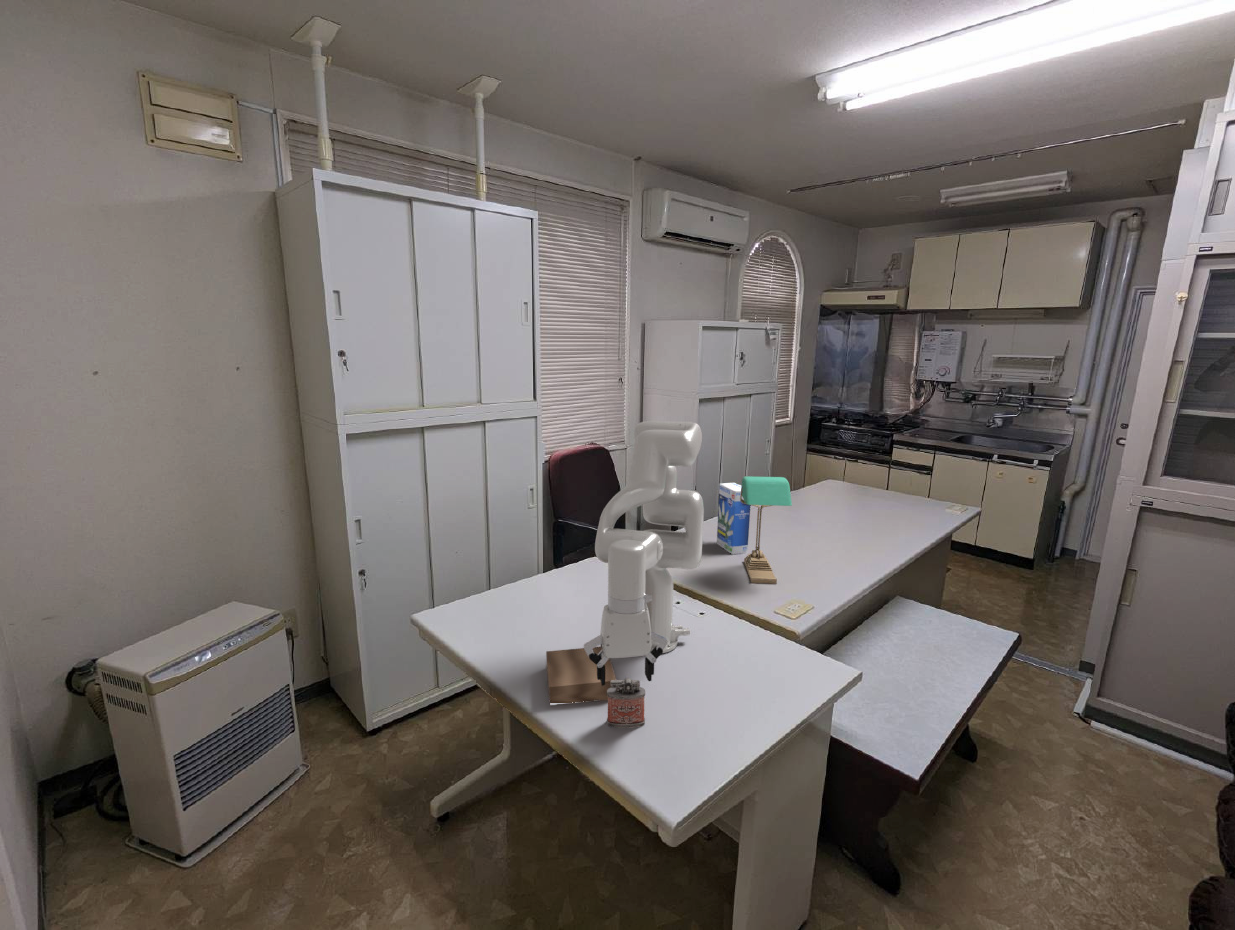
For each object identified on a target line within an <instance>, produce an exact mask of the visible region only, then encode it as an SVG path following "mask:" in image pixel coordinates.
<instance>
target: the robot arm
mask: <svg viewBox="0 0 1235 930" xmlns="http://www.w3.org/2000/svg"><path fill="white" fill-rule="evenodd" d="M633 437H634V438H633V439H634V443H633V449H632V454H631V455H632V456H631V459H630V466H629V471H628V476H627V482H626V485H625V486H624V487H623V488H622V489H621V490H619V491H618V492H617V493H615V495H614V496H612V498H611V499H610V500H609V501H608V502H607V504H606V505H605V507H603V510H602V512H601V515H600V517H599V522H598V526H597V531H596V536H595V542H594V552H595V555H596V558H597V560H599V561H600V562H602V563H605V564H607V604H606V605H604V606H603V609H602V610H603V611H602V616H601V622H600V634H599V635H597V636H596V637H594V638H592V639H590V640H588V641H587V642H585V643H584V644H583V648H584V650H585V651H586V653H587V655H588V656H589V659H590V660H591V661H593V662H594V663H595V664H596V665H597V679H598V680H600V681H601V685H602V686H604V685H605V665H604V664H605V663H606V662H607V660H608V659H609V658H610V659H621V658H623V659H624V658H631V657H632V658H634V657H644V656H645V657H644V674H645V677H646V680H647V681H648V682H652V677H653V675H655V663H657V659H658V658H659V657H660V656H661V655H662V654H666V653H669V652H672V651H673V650H675V649H676V648H677V646H678V642H679V639H678V638H679V637H682V636H683V637H686V636H690V634H691V632H690V631H691V630H690V628H689V627H683V625H682V624H677V625H674V624H673V620H674V619H673V616H674V615H673V613H674V580H673V577H672V575H671V574H670V571H669V570H668V569H677V570H678V569H679V570H695V569H697V568H698V567H699V566H700V564H701V562H702V555H703V540H704V539H703V538H704V516H705V506H704V500H703V497H702V496H701V494H700V492H698V491H696V490H688V489H678V488H677V483H678V482H677V479H678V478H677V477H678V470H677V467H691V466H692V465H693V464H694V462H696V459H697V457H698V455H699V452H700V450H701V447H702V443H703V434H702V429H701V427H700V425H699V424H698V423H696V422H693V421H671V420H670V421H669V420H666V421H665V420H647V421H641V422H639V423H637V424H636V426H635V427H634V430H633ZM641 506H642V515H643V518H644V520H645V521H646V522H647V523H649V524H654V525H660V526H671V527H672V526H674V527H683V528H684V530H685V531H677V530H675V531H674V530H666V529H644V530H635V529H625V528H615V524H616V522H617V520H619V518H620V517H621V516H622V515H624V514H626V513H627V512H629V511H631V510H633V509H636V508H639V507H641ZM595 647H601V648H602V650H601V651H600V652H599V653H598V655H597V654H596V653H595V652H594V651H593V650H592V649H593V648H595Z"/></svg>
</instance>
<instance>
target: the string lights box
mask: <svg viewBox="0 0 1235 930" xmlns="http://www.w3.org/2000/svg"><path fill="white" fill-rule="evenodd" d="M741 486H742V484H738V483H736V482H725V483H719V489H718V508H717V509H718V512H717V528H716V529H717V530H716V531H717V532H716V544H717V545H718V546H719V547H720V548H722V549H723V548H724V550H725V551H726V552H728V553H729V554H730V553H731V555H741V554H749V553H748V549H749V537H750V536H749V533H750V521H751V520H750V519H751V505H748V504H744V503H742V502H741V501H740V494H741ZM742 499H743V497H742ZM743 500H744V499H743ZM740 553H741V554H740Z"/></svg>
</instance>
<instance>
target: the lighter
mask: <svg viewBox="0 0 1235 930" xmlns="http://www.w3.org/2000/svg"><path fill="white" fill-rule="evenodd" d="M640 685H641V680H639V679H635V680H633V679H631V678H630V677H627V678H626V677H625V679H624V680H622V679H616V680H611V681H610V687H611V688H609V689H608V690H607V696H608V700H607V717H606V726H608V727H610V728H616V729H634V728H635V729H636V728H639V727H641V728H642V727H643V726H645V724H646V718H645V696H646V689H645V688H644V687H641V686H640Z"/></svg>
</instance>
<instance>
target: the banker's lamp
mask: <svg viewBox="0 0 1235 930" xmlns="http://www.w3.org/2000/svg"><path fill="white" fill-rule="evenodd" d="M791 495H792V494H791V488H790V483H789V481H788V479H787V478H786V477H783V476H751V475H749V476H746V475H745V476H743V477H742V479H741V494H740V501H741V502H742V503H744V504H748V505H750V506H753V507H757V518H756V535H755V536H756V537H755V549H754V550H753V549H752V550H751V553H747V555H746V556H745V557H744V559H743V563H744V566H745V568H746V571H747V574H748V577H749V579H750V583H752V584H772V585H774V584H775V585H777V580H778V578H776V576H775V574H774V572H773V567H772V566H771V564H770V562H769V560H768V558H767V557H766V555H765V554H764V553H763V550H760V549H761V525H762V513H763V512H762V511H763V509H764V508H767V507H773V506H781V507H782V506H783V507H791V506H792V505H793V503H792V496H791ZM742 497H743V499H744V500H743V499H742Z"/></svg>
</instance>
